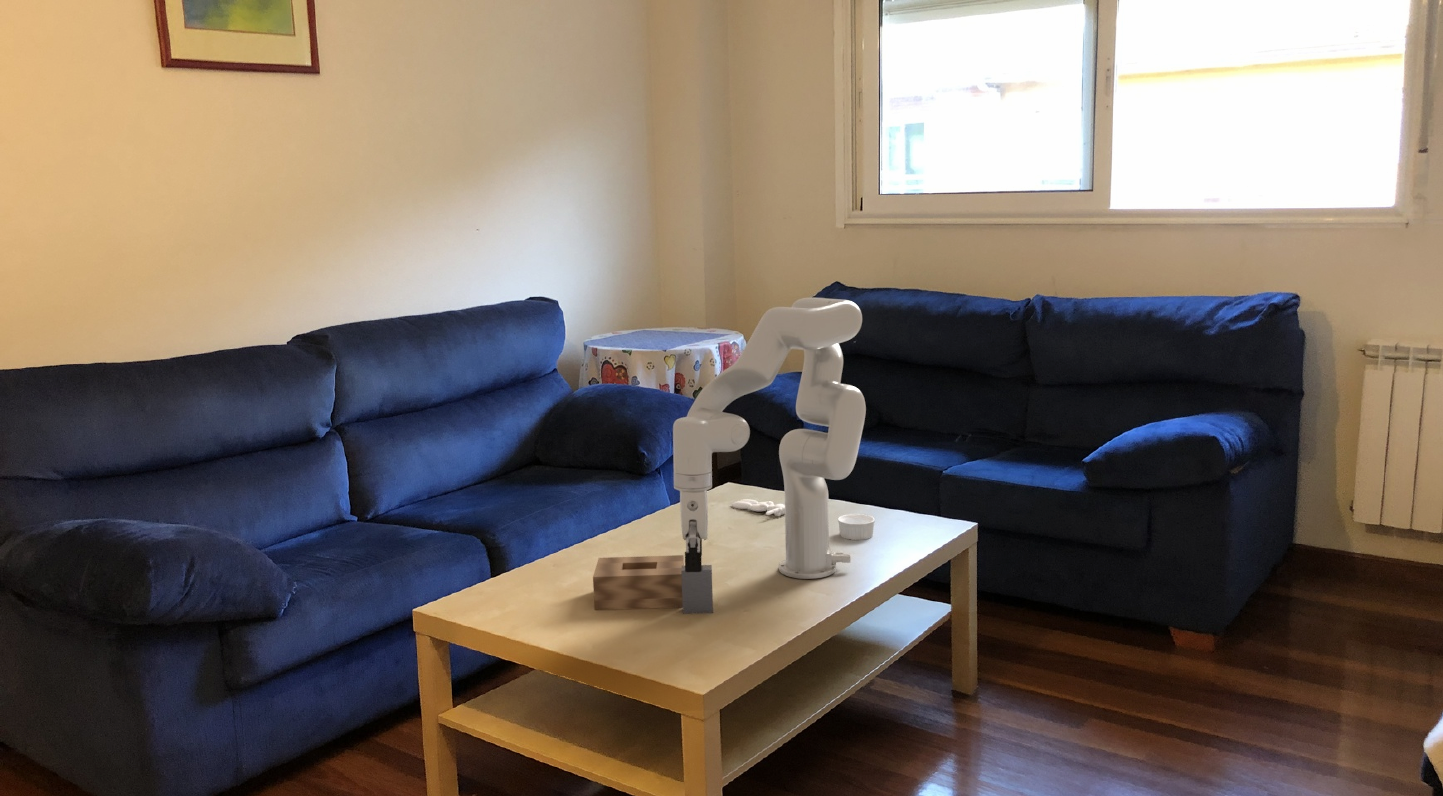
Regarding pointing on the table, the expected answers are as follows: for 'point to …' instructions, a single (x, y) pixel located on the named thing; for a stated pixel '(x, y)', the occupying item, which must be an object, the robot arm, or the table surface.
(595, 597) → the tan slotted block
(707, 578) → the grey rectangular block
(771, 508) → the decorative figure
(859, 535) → the ramekin
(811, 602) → the table surface
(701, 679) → the table surface
